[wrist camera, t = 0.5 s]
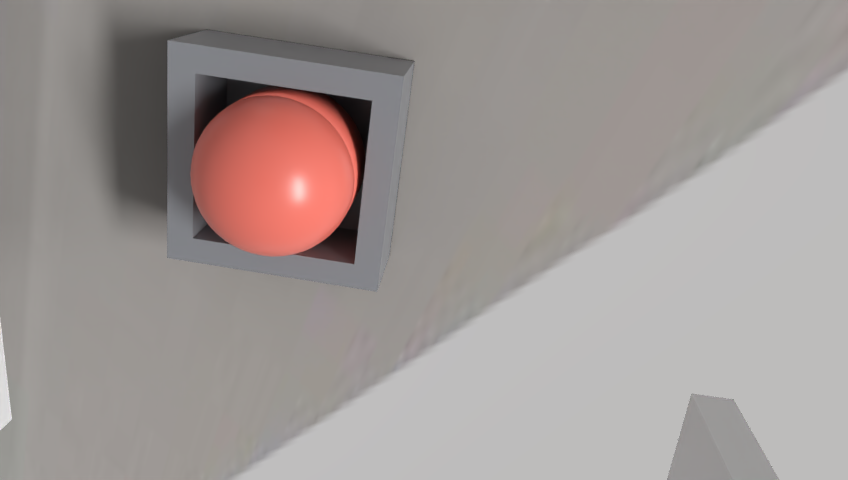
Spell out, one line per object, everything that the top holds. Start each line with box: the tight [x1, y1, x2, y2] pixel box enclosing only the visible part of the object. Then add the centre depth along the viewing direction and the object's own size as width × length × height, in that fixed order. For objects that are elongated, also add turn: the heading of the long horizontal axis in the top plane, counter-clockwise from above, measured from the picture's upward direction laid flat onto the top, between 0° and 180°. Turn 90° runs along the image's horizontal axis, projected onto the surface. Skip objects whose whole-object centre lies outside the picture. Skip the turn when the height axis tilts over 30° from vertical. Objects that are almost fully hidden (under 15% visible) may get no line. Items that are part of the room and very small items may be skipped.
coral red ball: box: [190, 85, 366, 257], centre depth 31 cm, size 7×7×7 cm
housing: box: [167, 30, 415, 292], centre depth 34 cm, size 10×10×4 cm
